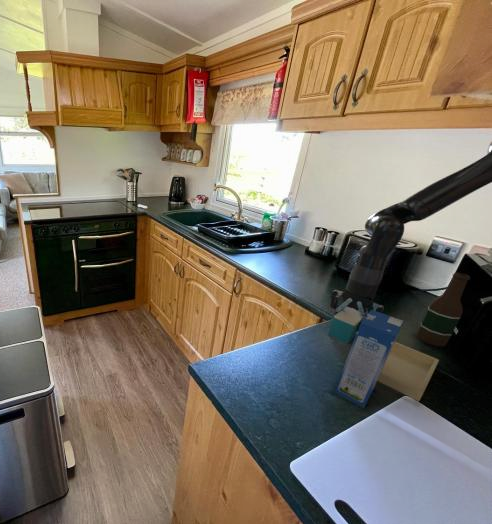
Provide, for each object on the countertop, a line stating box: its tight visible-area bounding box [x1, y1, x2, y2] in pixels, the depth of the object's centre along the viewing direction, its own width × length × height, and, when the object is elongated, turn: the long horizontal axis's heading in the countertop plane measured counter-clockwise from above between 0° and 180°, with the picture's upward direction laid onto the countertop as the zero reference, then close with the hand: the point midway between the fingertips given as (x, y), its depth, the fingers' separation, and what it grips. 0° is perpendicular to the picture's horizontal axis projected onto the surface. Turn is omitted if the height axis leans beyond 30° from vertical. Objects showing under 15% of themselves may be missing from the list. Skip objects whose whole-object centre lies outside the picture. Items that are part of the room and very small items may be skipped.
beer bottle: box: [415, 272, 471, 348], centre depth 92 cm, size 8×8×24 cm
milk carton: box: [333, 309, 405, 409], centre depth 69 cm, size 10×6×20 cm, turn 131°
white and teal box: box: [328, 306, 361, 345], centre depth 94 cm, size 6×12×8 cm, turn 128°
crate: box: [377, 341, 440, 402], centre depth 81 cm, size 16×22×3 cm
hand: (347, 325), depth 94 cm, fingers closed on white and teal box, 6 cm apart
